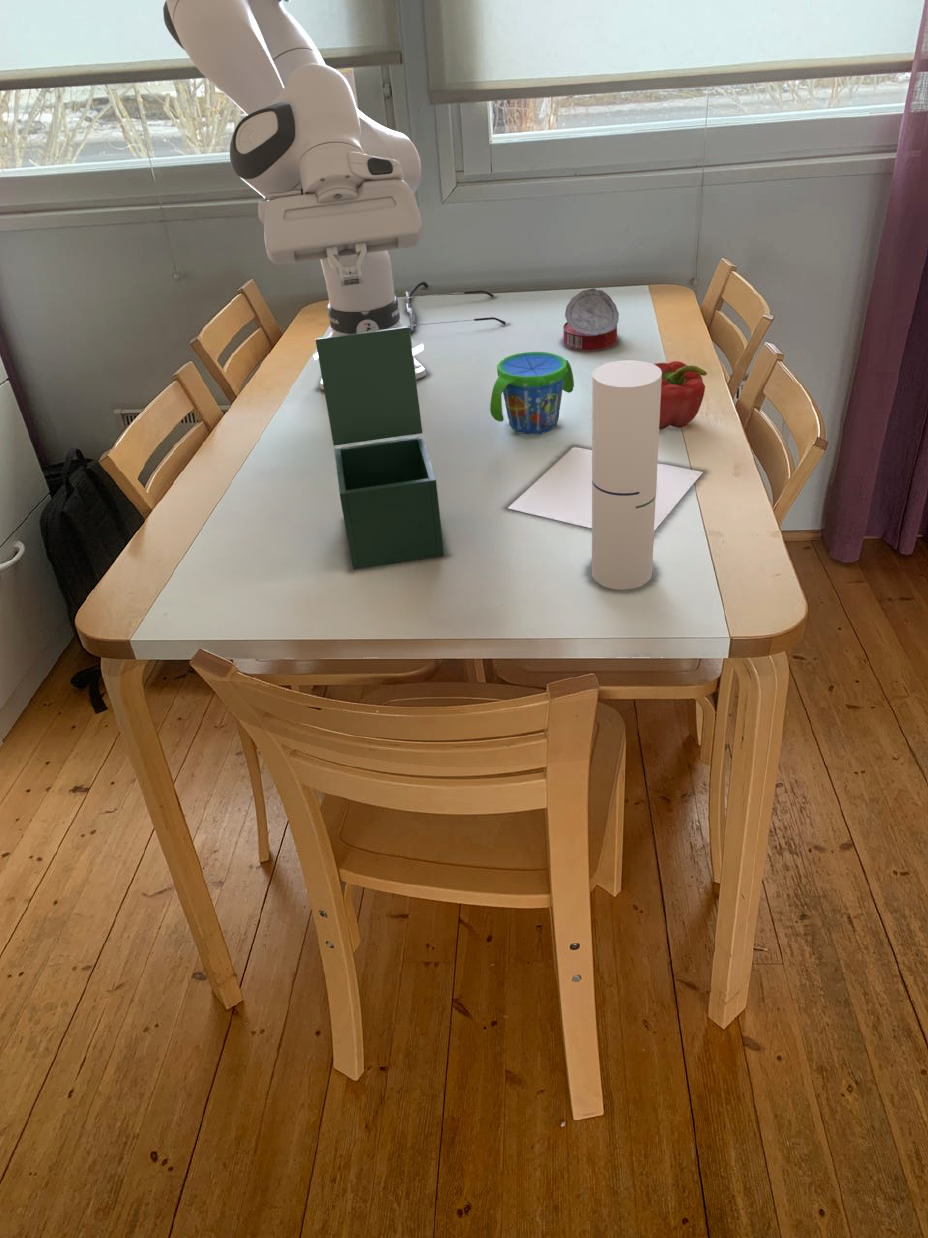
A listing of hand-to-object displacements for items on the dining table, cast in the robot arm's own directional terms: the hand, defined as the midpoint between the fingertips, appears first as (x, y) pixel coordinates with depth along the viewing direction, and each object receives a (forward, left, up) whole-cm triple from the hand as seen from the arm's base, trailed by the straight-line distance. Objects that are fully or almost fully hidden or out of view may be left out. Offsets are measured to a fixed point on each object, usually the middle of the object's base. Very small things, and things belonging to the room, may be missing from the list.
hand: (351, 282), depth 119 cm
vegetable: (-4, +45, -28) cm, 54 cm away
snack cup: (-10, +25, -28) cm, 39 cm away
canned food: (-42, +43, -28) cm, 67 cm away
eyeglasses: (-66, +21, -28) cm, 75 cm away
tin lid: (+10, 0, -10) cm, 14 cm away
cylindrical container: (+33, +26, -28) cm, 51 cm away
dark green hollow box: (+17, 0, -28) cm, 33 cm away
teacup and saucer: (+13, +30, -28) cm, 43 cm away
